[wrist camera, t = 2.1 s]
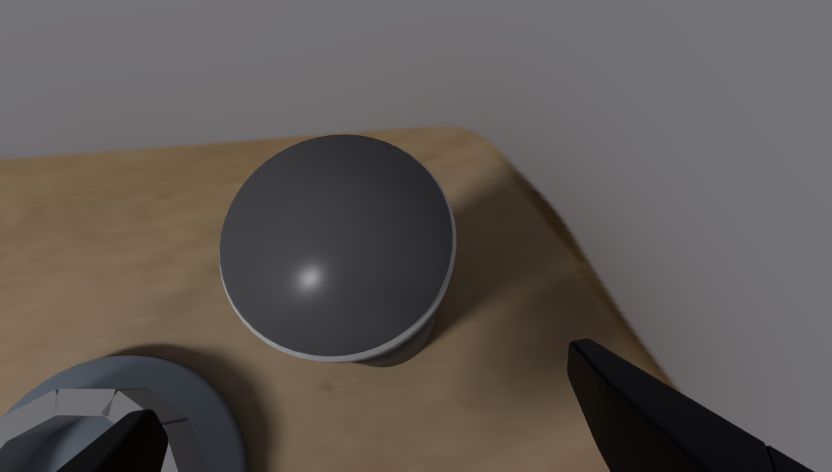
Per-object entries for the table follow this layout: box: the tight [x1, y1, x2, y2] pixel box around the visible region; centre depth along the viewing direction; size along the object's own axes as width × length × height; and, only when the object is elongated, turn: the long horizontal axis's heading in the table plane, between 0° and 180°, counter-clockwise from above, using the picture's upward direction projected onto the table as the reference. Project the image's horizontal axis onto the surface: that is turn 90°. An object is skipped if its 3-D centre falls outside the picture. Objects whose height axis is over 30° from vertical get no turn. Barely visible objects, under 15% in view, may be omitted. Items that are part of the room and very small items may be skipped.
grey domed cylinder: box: [219, 135, 457, 367], centre depth 15 cm, size 5×5×12 cm
